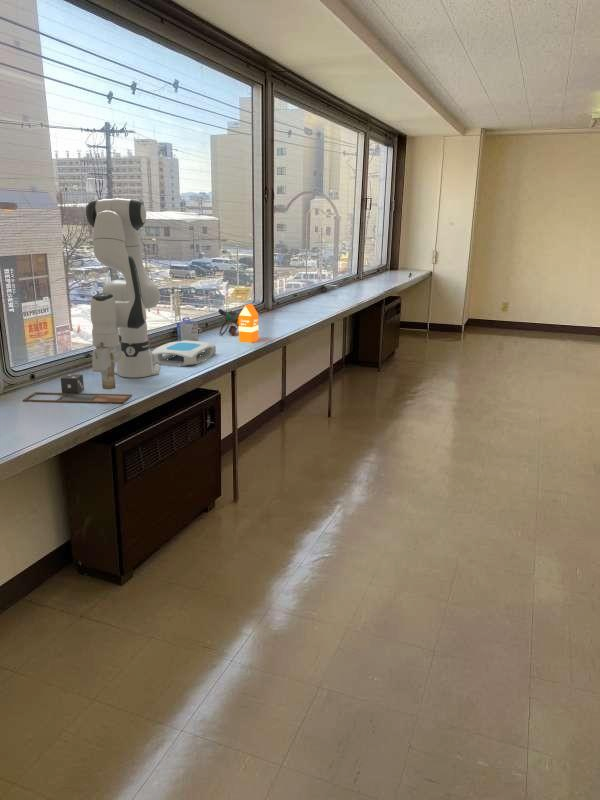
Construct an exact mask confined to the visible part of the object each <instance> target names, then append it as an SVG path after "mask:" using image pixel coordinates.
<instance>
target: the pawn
mask: <svg viewBox="0 0 600 800" xmlns="http://www.w3.org/2000/svg"><path fill="white" fill-rule="evenodd" d="M110 359H111V367H109V368H108V369H107V374H108V376H109V377H108V378H109V379H108V380H107V381H103V380H102V379H101V383H102V384H101V385H102V387H101V388H102V389H103V390H114V389H116V380H115V379H116V378H115V375H116V374H114V371H115V368H114V355H113V354H112V353H110Z"/></svg>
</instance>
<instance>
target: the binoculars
mask: <svg viewBox="0 0 600 800" xmlns="http://www.w3.org/2000/svg"><path fill="white" fill-rule="evenodd" d="M217 311H218V313H219V315H221V316H223V317H224V320H225V321H224V322H223V323H222V325H221V328H220V330H219V335H220V334H221V335H222V336H223V335H225V333H226V332H227V331H228V333H229V334H230V335H231V336H233V337H234V336H235V335H236V333H237V331H238V329H239V316H236V315H234V314H233V311H232V310H230V311H224V309H222V308H219V309H218V310H217ZM226 324H227V326H226V328H225V329H224V331H223V328H224V327H225V325H226ZM232 324H235V325H232ZM221 335H220V336H221Z"/></svg>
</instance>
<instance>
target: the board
mask: <svg viewBox="0 0 600 800" xmlns="http://www.w3.org/2000/svg"><path fill="white" fill-rule="evenodd" d="M35 394H36V395H52V394H53V395H54V394H55V396H56V395H57V396H59V395H60V397H59V398H57V399H31V398H33V397H35V396H36V395H35ZM32 396H33V397H32ZM132 396H133V395H132V394H124V393H123V394H120V393H119V394H118V393H114V394H113V393H86V392H85V393H84V392H83V393H81V392H80V393H62V392H43V391H42V392H41V391H39V392H38V391H35V392H33V393H32V394H29V396H27V397H25V398H23V399H22V402H28V401H33V402H36V403H38V402H39V403H40V402H41V403H69V404H70V403H73V404H76V403H77V404H106V403H112V405H124V404H125V403H126V402H127V401H128V400H129V399H130V398H131V397H132ZM29 398H30V399H29ZM33 402H32V403H33Z"/></svg>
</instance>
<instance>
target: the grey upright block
mask: <svg viewBox="0 0 600 800" xmlns="http://www.w3.org/2000/svg"><path fill="white" fill-rule="evenodd" d="M182 320H183V321H182V322H177V323H176V329H177V330H176V331H177V342H178V341H185V340H187V341H199V325H198V324H199V323H198V322H197V321H194V320H191V319H190V317H188V316H187V317H186V316H185V317H182Z"/></svg>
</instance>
